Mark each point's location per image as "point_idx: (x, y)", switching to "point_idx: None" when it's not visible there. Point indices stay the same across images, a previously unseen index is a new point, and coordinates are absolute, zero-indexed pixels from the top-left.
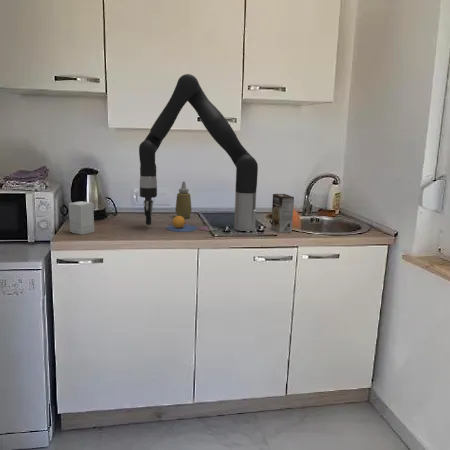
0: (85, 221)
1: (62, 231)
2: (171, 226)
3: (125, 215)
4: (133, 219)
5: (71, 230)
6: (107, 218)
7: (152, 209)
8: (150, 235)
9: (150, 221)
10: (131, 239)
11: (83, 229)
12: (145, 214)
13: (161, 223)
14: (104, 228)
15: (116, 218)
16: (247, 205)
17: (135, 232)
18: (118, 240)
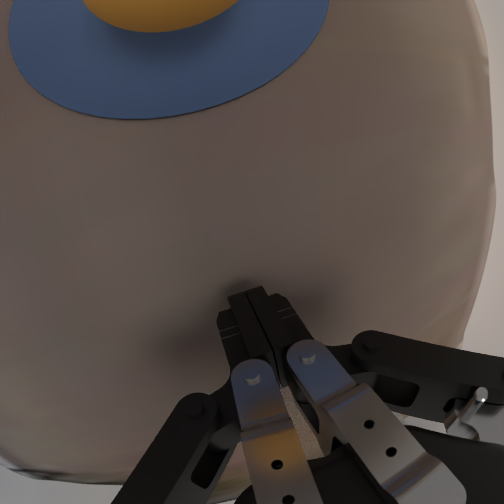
0: None
1: None
2: (121, 77)
3: (30, 455)
4: (58, 431)
5: None
6: (121, 480)
7: (279, 436)
8: (446, 185)
9: (272, 307)
10: (479, 247)
11: (400, 420)
12: (388, 376)
13: (16, 254)
14: (305, 431)
15: (97, 468)
16: None
17: (387, 298)
18: (477, 284)
